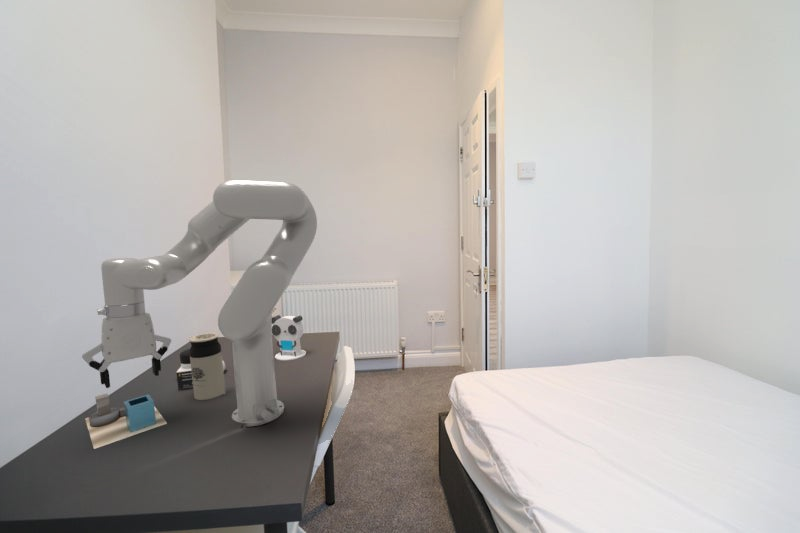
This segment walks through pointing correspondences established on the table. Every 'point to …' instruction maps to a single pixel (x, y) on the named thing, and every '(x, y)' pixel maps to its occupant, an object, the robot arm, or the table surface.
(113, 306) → the robot arm
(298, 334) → the panda figurine
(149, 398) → the hollow square tube
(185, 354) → the medicine bottle
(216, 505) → the table surface
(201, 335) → the travel mug
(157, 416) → the door lever plate
